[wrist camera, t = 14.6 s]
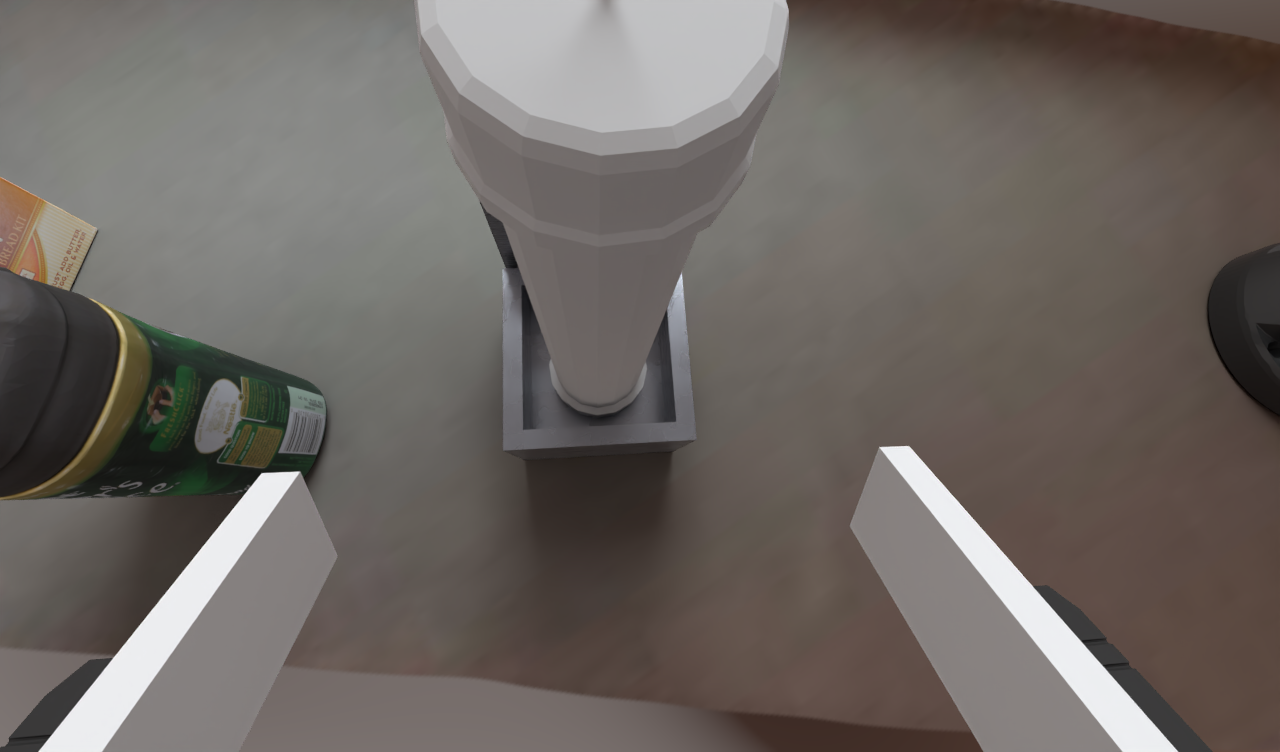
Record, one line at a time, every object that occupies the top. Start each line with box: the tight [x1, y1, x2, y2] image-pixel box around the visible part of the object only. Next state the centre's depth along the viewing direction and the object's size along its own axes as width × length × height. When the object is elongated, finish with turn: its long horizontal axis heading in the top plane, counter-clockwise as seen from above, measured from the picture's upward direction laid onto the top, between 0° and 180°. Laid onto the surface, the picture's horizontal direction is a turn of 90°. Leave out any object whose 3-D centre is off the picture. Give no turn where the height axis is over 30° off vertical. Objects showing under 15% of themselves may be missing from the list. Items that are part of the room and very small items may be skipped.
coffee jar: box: [0, 267, 327, 500], centre depth 22 cm, size 10×8×19 cm
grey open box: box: [479, 200, 697, 460], centre depth 28 cm, size 12×10×14 cm
